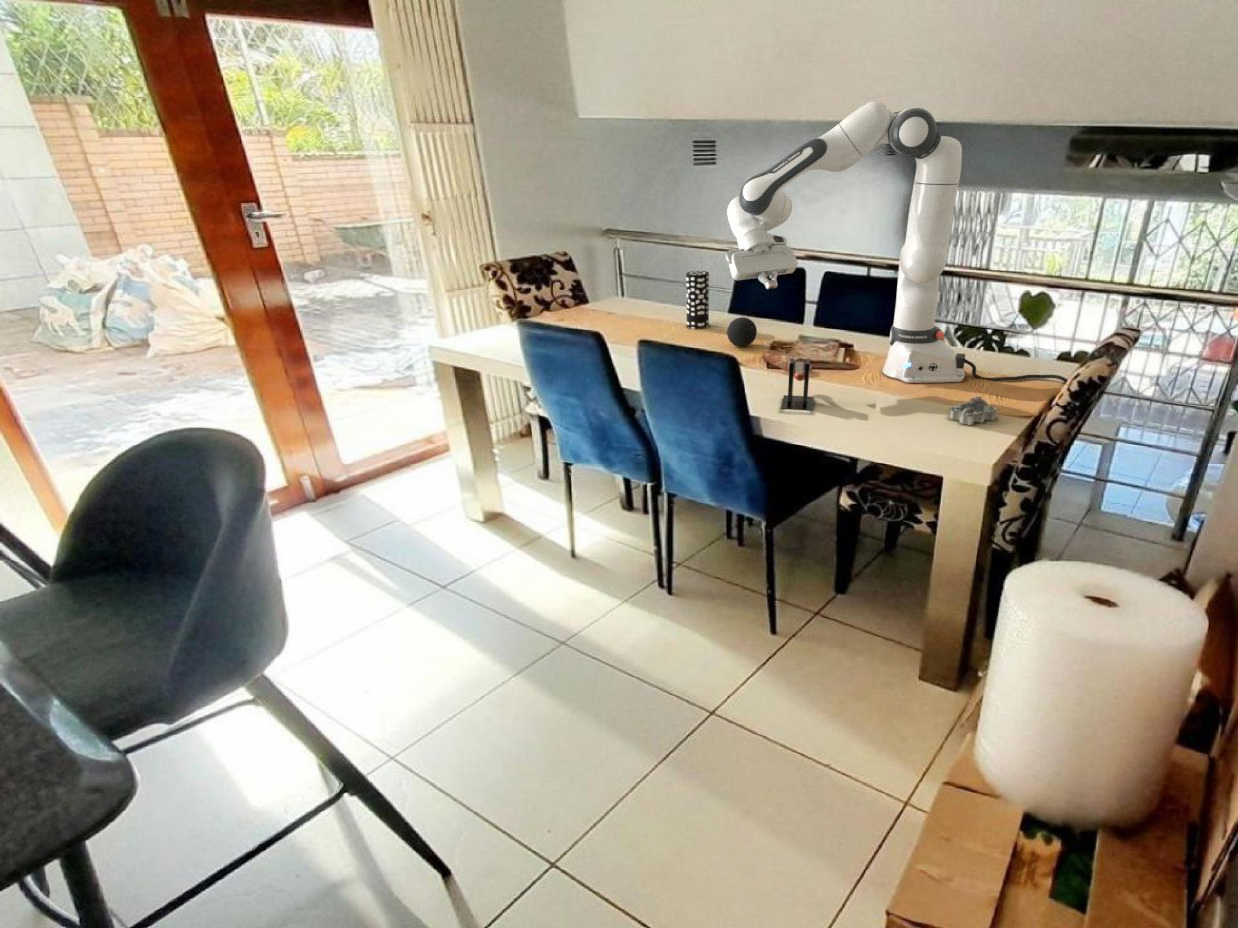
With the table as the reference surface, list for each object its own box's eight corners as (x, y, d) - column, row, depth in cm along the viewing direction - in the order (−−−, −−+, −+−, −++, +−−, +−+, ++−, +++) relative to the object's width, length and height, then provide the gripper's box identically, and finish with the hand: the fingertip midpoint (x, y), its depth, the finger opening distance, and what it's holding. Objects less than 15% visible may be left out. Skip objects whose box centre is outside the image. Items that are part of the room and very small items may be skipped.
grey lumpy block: (978, 410, 181) (981, 395, 179) (1000, 420, 175) (1004, 405, 173) (943, 416, 179) (946, 401, 177) (964, 426, 172) (967, 411, 170)
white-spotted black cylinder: (712, 324, 270) (712, 271, 262) (702, 329, 264) (702, 276, 255) (692, 322, 274) (692, 270, 266) (683, 327, 268) (682, 274, 260)
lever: (794, 381, 197) (795, 370, 197) (805, 382, 196) (806, 371, 196) (792, 372, 184) (793, 360, 184) (805, 372, 183) (806, 360, 184)
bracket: (783, 399, 195) (785, 354, 190) (813, 400, 193) (816, 355, 188) (780, 412, 187) (782, 366, 181) (811, 414, 185) (814, 367, 179)
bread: (790, 378, 211) (791, 360, 208) (758, 361, 227) (758, 344, 224) (808, 374, 212) (809, 357, 210) (775, 358, 229) (776, 341, 226)
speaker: (751, 351, 236) (752, 322, 232) (723, 349, 241) (723, 320, 236) (759, 343, 244) (760, 315, 240) (732, 341, 248) (732, 313, 244)
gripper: (727, 244, 197) (744, 285, 193) (790, 236, 203) (807, 276, 199) (720, 258, 203) (736, 298, 199) (781, 250, 209) (798, 289, 205)
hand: (772, 287), depth 199 cm, fingers closed
